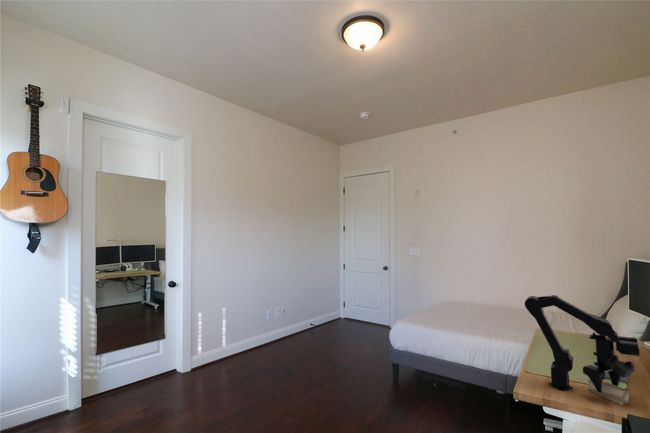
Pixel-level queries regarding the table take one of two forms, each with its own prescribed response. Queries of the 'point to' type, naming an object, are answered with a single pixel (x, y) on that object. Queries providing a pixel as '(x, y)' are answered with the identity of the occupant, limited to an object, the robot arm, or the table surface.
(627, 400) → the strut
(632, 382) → the table surface
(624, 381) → the bin
